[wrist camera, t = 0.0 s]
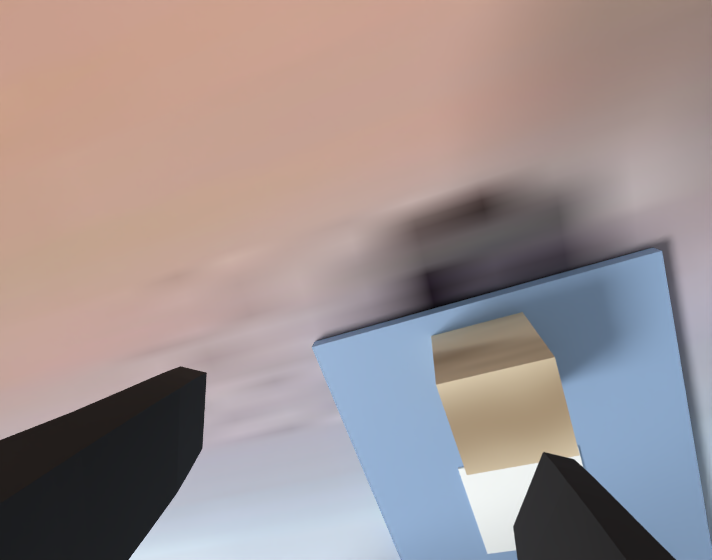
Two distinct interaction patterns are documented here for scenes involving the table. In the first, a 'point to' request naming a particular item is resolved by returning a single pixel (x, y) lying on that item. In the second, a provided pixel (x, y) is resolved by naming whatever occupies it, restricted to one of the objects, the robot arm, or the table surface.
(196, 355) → the table surface
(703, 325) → the table surface
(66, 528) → the robot arm
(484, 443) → the maple cube
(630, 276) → the board
